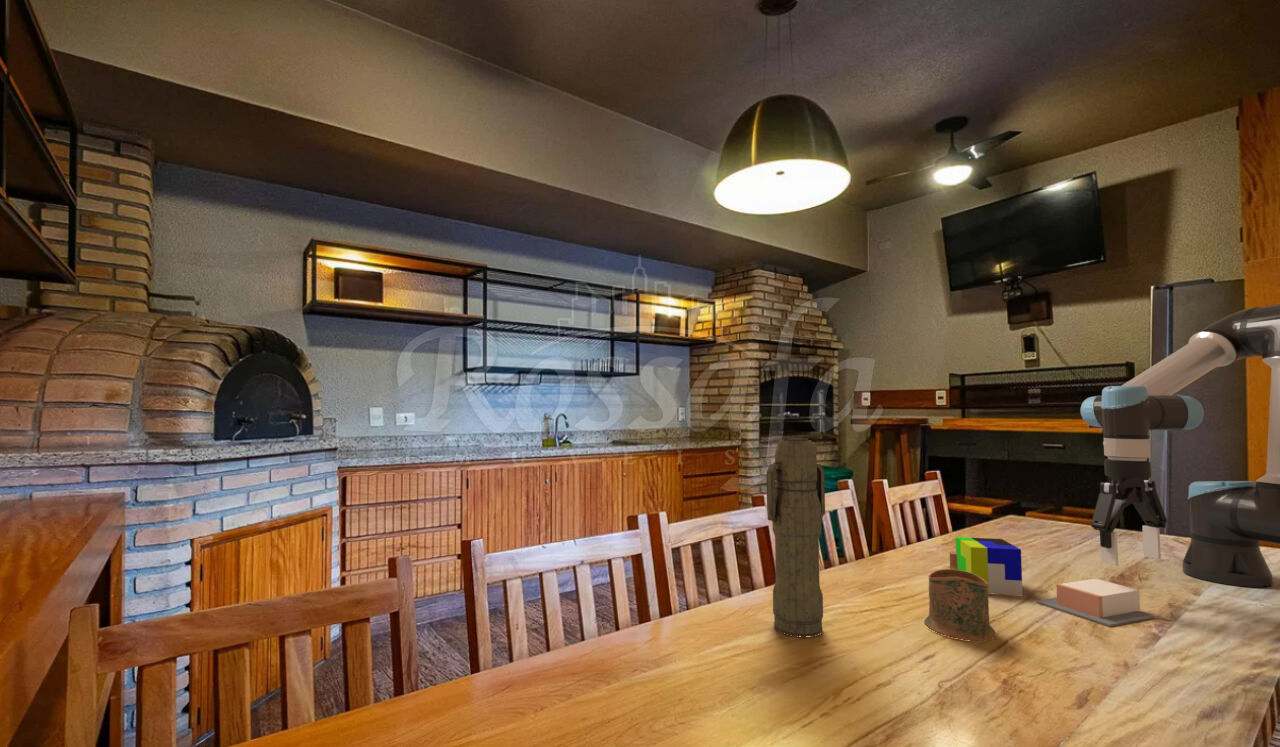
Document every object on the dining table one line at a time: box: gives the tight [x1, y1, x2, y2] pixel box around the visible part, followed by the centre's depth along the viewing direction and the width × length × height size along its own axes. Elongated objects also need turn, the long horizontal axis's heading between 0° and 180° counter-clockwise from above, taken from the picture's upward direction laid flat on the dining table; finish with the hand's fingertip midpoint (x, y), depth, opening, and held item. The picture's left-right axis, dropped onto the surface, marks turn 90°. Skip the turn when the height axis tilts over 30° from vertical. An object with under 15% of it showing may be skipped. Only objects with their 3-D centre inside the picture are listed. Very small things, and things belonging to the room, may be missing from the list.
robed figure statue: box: [766, 437, 826, 638], centre depth 108 cm, size 9×12×35 cm
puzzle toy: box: [955, 536, 1023, 596], centre depth 131 cm, size 10×10×10 cm
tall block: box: [1056, 578, 1141, 618], centre depth 117 cm, size 4×8×12 cm
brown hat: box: [923, 550, 997, 642], centre depth 110 cm, size 12×18×12 cm, turn 155°
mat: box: [1035, 596, 1155, 628], centre depth 116 cm, size 13×14×1 cm
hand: (1131, 560), depth 121 cm, fingers open, 13 cm apart
